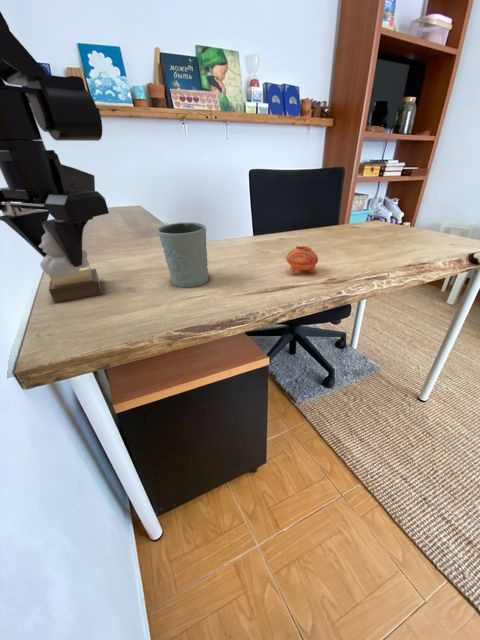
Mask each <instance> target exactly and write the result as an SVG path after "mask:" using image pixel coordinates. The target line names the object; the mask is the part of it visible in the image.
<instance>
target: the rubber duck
mask: <svg viewBox="0 0 480 640" xmlns="http://www.w3.org/2000/svg"><path fill="white" fill-rule="evenodd" d="M43 227H44V230H45V232H46V233H45V234H44V235H43V236H42V243H41V244H40V245H39V248H42V249H43V252H45V253H46V254H47V255H46V256H45V257H42V258H43V259H41V262H40V264H39V265H40V268H41V270H42V271H43V272H44V273H45V274H46V275H48V276H49V275H50V276H51V277H54V278H57V279H66V278H71V277H73V276H75V275H76V274H77V273H78V272H79V270H80V268H85V267H88V266H89V265H90V262H89V259H88V252H87V250H84V249H82V265H81V266H79V267H75V266H74V265H73V264H72V263H71V262H70V260H69V259H68V258H67V256H66V255H65V254H64V252H63V251H62V249H61V248H60V246H59V245H58V244H57V242H56V241H55V239H54V238H53V237H52V235H51V234H50V232H49V231H48V230H47V228H46V227H45V226H44V225H43Z"/></svg>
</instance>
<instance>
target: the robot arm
mask: <svg viewBox="0 0 480 640" xmlns="http://www.w3.org/2000/svg"><path fill="white" fill-rule="evenodd" d="M26 86H27V87H26ZM39 128H40V129H41V130H42V132H44V133H48V134H49V136H50V137H51V138H52V140H54V141H59V142H60V141H61V142H62V141H63V142H64V141H65V142H67V141H69V142H70V141H76V142H77V141H83V142H84V141H88V142H89V141H90V142H94V141H97V142H99V141H100V140H101V139H102V138H103V137H102V136H103V121H102V116H101V112H100V109H99V107H97V105H96V103H95V100H94V98H93V96H92V95H91V93H90V91H88V89H86V86H85V81H84V79H83V78H82V77H81V76H76V75H69V76H61V75H53V74H47V72H46V71H45V69H44V68H43V67H42V65H40V63H39V62H38V61H37V60H36V59H35V58H34V57H33V56H32V54H31V53H30V52H29V51H28V49H26V48H25V47H24V45H23V44H22V43H21V42H20V41H19V39H18V38H17V37H16V36H15V35H14V33H12V32H11V30H10V27H9V24H8V23H7V21H6V18H5V17H4V15H3V13H2V12H1V11H0V172H1V174H2V177H3V179H4V181H5V183H6V186H7V187H0V211H1V212H2V215H0V221H1V222H3V223H5V224H6V225H7V226H9V227H10V228H11V229H12V230H13V231H14V232H15V233H16V234H17V235H19V236H20V237H21V238H22V239H24V241H25V242H27V244H29V245H30V246H31V247H32V248H33V249H34V250H35V251H36V252H37V253H39V255H41V257H42V258H44V257H45V256H46V255H47V254H46V253H45V252H43V249H42V248H39V245H40V244H41V243H42V236H43V235H44V234H45V233H46V232H45V230H44V227H43V225H44V226H45V227H46V228H47V230H48V231H49V232H50V234H51V235H52V237H53V238H54V239H55V241H56V242H57V244H58V245H59V246H60V248H61V249H62V251H63V252H64V254H65V255H66V256H67V258H68V259H69V260H70V262H71V263H72V264H73V265H74V266H75V267H79V266H81V265H82V250H83V235H84V230H85V229H84V228H85V227H86V225H87V223H88V222H89V221H92V220H93V219H94V217H99V216H103V215H108V214H110V211H109V208H108V204H107V201H106V198H105V196H104V195H102V194H101V193H100V192H99V191H98V190H96V182H95V181H96V180H95V179H96V177H95V175H94V174H91V173H89V172H87V171H83V170H81V169H78V168H75V167H72V166H68V165H65V164H63V163H61V160H60V157H59V155H58V153H56V152H55V150H54V149H47V148H46V145H45V143H44V140H43V137H42V135H41V131H40V129H39ZM50 215H51V217H52V218H51V219H49V216H50Z"/></svg>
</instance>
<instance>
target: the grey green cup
mask: <svg viewBox="0 0 480 640" xmlns="http://www.w3.org/2000/svg"><path fill="white" fill-rule="evenodd" d="M157 234H158V237H159V240H160V244H161V246H162V248H163V254H164V258H165V261H166V264H167V268H168V271H169V276H170V278H171V282H172V284H173V285H174V286H176V287H179V288H195V287H199V286H202V285H204V284H206V283H207V282H209V268H208V262H209V261H208V251H207V250H208V248H207V226H206V225H205V224H203V223H200V222H188V221H187V222H175V223H169V224H165V225H162V226H160V227H158V229H157Z"/></svg>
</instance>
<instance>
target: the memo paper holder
mask: <svg viewBox="0 0 480 640" xmlns="http://www.w3.org/2000/svg"><path fill="white" fill-rule="evenodd" d="M48 277H49V287H48V292H49V294H50V296H51V298H52V300H53V302H54V304H57V303H63V302H69V301H74V300H79V299H83V298H91V297H95V296H100V295H103V290H102V286H101V280H100V277H99V274H98V271H97V269H96V268H92V267H91V265H90V264H89V266H88V267H85V268H80V270H79V272H78V273H77V274H76V275H75V276H73V277H71V278H66V279H57V278H54V277H51V276H50V275H48Z"/></svg>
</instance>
